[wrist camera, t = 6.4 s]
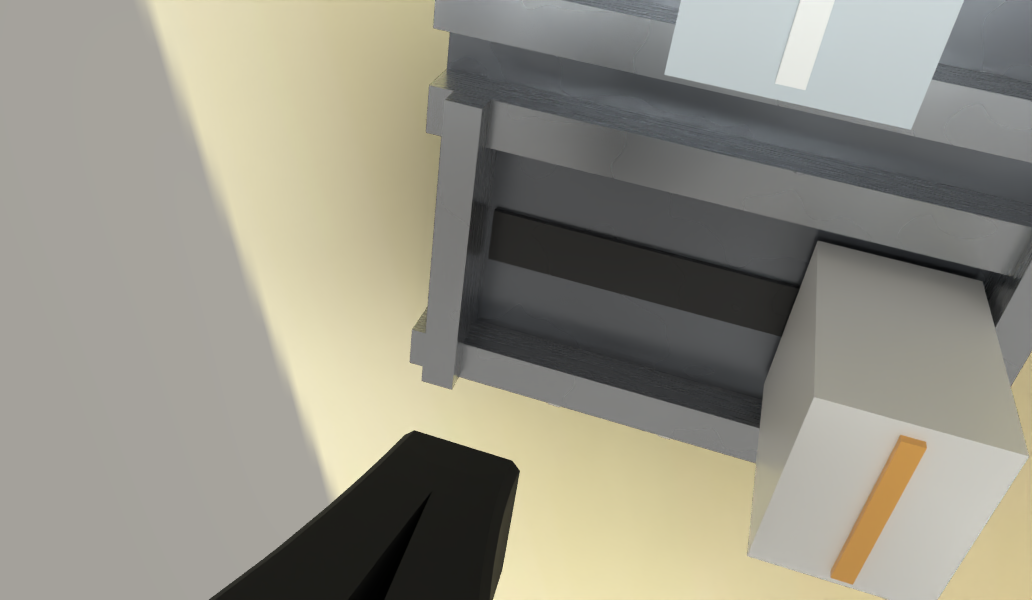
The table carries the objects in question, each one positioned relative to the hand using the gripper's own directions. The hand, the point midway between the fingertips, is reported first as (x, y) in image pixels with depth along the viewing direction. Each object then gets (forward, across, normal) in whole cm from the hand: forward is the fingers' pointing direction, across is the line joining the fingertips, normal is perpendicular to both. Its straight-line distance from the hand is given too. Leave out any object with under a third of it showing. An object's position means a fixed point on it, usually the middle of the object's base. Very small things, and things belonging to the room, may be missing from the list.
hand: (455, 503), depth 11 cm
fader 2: (+6, -5, 0) cm, 8 cm away
